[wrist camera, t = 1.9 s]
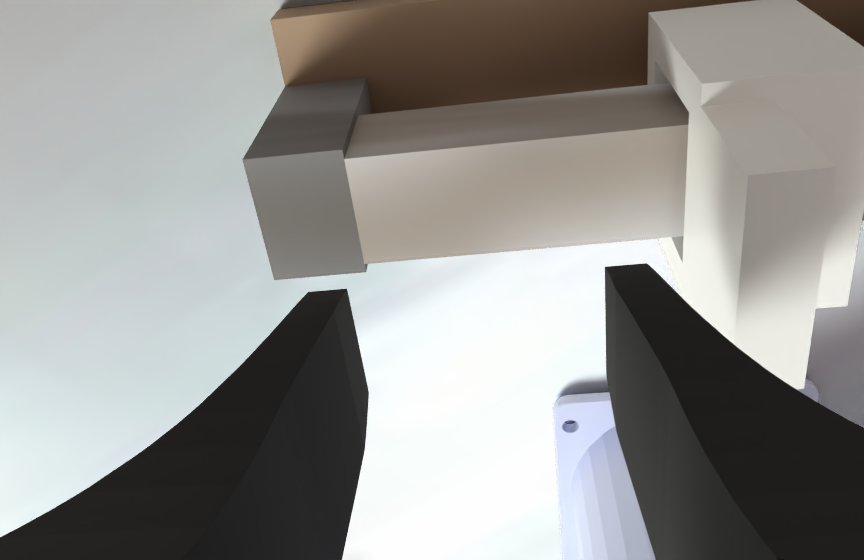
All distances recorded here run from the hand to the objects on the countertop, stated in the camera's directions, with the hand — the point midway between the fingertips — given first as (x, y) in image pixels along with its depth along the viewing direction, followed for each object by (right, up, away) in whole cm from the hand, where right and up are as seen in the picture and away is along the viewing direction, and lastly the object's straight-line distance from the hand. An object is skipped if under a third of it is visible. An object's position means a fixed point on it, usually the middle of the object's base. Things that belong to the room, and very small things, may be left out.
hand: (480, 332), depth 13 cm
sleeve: (+6, +5, +6) cm, 10 cm away
